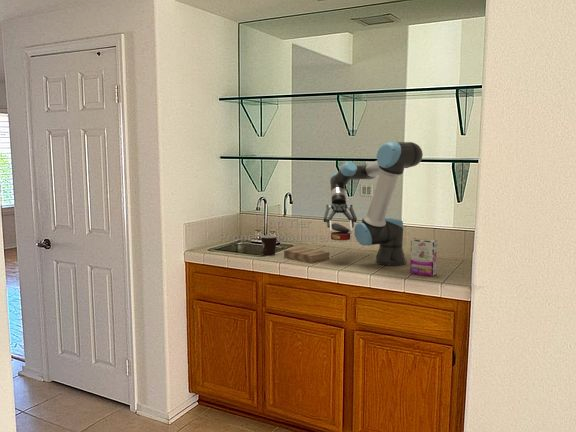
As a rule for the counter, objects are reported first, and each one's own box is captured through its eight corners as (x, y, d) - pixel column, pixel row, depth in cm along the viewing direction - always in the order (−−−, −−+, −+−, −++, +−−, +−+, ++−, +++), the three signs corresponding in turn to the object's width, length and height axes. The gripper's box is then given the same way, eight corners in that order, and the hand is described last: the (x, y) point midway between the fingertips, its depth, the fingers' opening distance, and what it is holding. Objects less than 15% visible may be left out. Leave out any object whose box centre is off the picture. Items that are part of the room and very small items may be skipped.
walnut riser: (329, 259, 275) (329, 252, 275) (311, 263, 265) (311, 255, 265) (302, 254, 289) (302, 246, 289) (284, 257, 280) (284, 250, 279)
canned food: (330, 247, 266) (325, 229, 269) (348, 244, 269) (343, 226, 272) (337, 240, 256) (331, 221, 259) (355, 237, 259) (350, 218, 262)
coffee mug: (276, 256, 284) (276, 238, 282) (260, 256, 284) (260, 238, 283) (277, 251, 295) (277, 234, 294) (262, 251, 295) (262, 234, 294)
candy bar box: (436, 274, 242) (437, 240, 240) (432, 276, 238) (434, 241, 236) (413, 271, 248) (414, 237, 246) (409, 273, 244) (410, 239, 242)
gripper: (358, 202, 278) (362, 236, 264) (317, 202, 278) (318, 236, 264) (360, 193, 272) (364, 227, 258) (317, 193, 272) (319, 227, 258)
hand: (341, 232), depth 261 cm, fingers closed on canned food, 10 cm apart
